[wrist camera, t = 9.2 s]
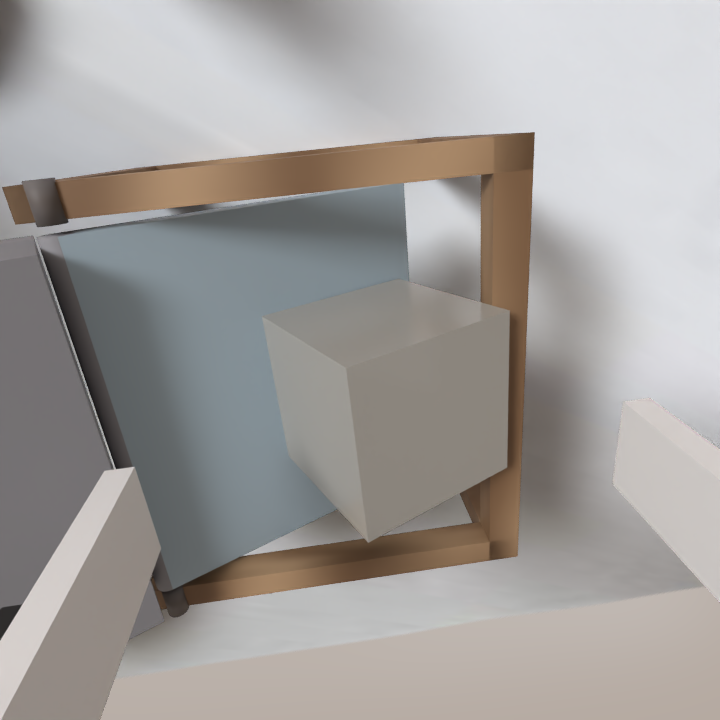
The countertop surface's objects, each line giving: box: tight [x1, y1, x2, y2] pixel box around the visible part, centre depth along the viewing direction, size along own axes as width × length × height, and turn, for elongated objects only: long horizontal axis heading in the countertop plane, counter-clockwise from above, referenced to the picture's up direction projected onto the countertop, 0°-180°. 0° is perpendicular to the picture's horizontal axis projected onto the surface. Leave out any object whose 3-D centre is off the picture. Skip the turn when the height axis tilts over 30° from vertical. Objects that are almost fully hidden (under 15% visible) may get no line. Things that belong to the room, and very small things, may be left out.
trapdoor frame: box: [2, 132, 535, 617], centre depth 23 cm, size 15×16×12 cm
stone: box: [262, 279, 510, 543], centre depth 18 cm, size 6×6×6 cm
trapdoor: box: [0, 183, 409, 639], centre depth 19 cm, size 17×13×5 cm
